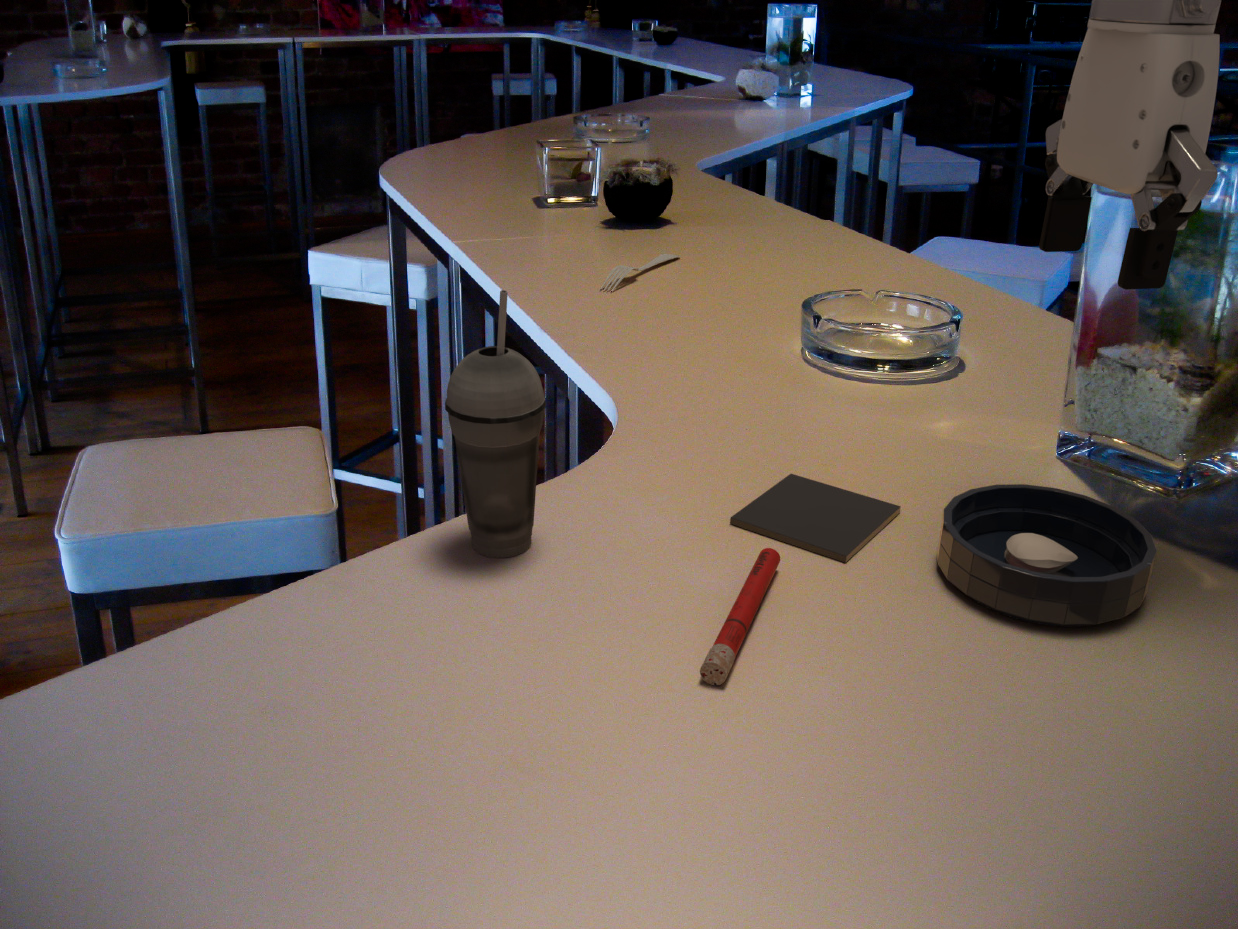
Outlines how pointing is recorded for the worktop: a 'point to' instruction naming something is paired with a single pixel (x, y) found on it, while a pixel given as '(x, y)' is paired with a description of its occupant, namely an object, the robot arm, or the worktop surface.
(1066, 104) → the robot arm
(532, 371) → the beverage cup
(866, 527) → the coaster
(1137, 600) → the bowl
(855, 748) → the worktop surface
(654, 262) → the fork
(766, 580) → the flare
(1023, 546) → the clam shell
